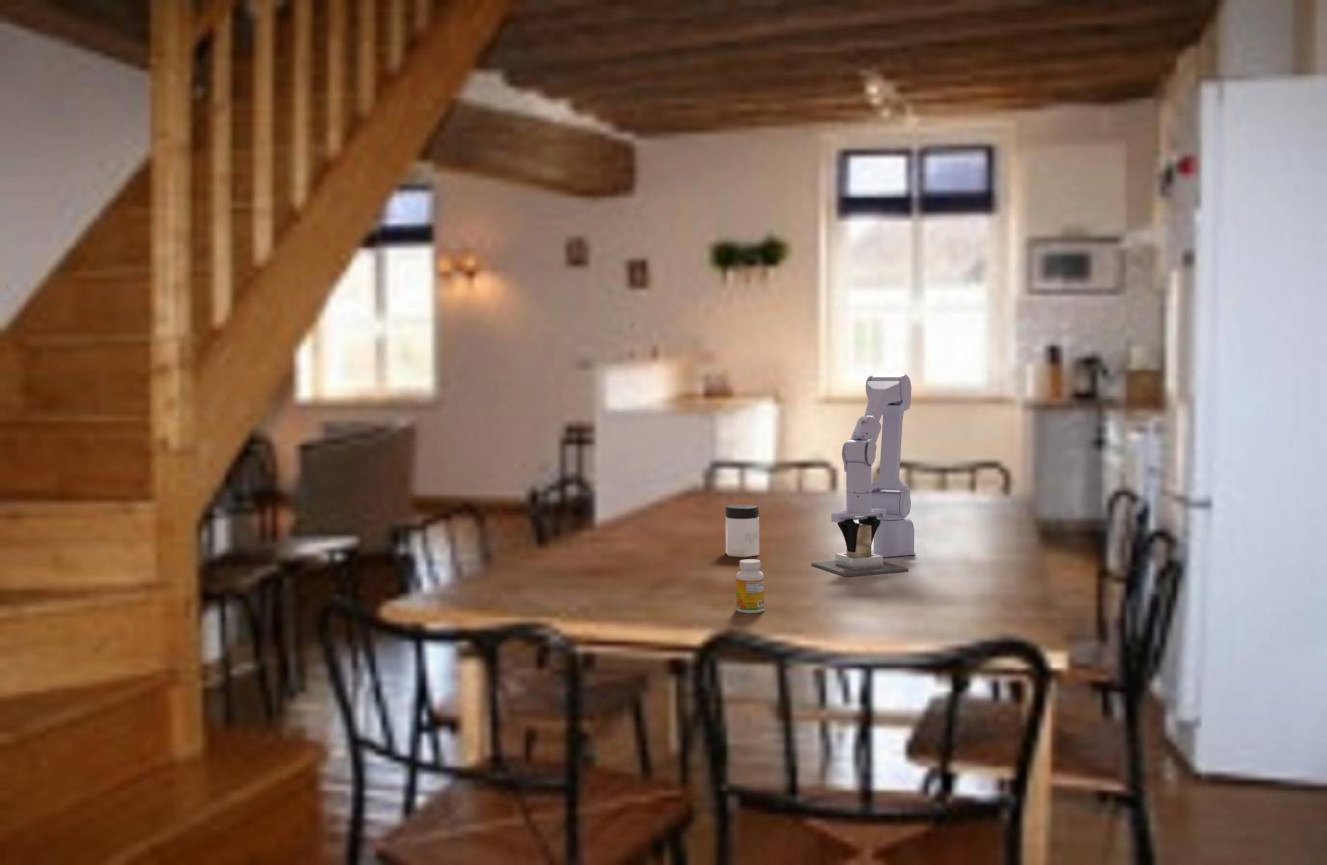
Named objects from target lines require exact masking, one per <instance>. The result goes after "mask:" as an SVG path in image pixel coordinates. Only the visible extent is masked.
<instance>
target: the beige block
mask: <svg viewBox="0 0 1327 865" xmlns="http://www.w3.org/2000/svg"><path fill="white" fill-rule="evenodd" d="M871 550H872V545H871V525H866V524H860V525H859V528H858V532H857V540H856V550H855V552H848V550H847V549H846V553H847V556H851V557H854V558H857V557H869V556H871Z"/></svg>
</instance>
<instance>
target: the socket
mask: <svg viewBox="0 0 1327 865" xmlns="http://www.w3.org/2000/svg"><path fill="white" fill-rule="evenodd" d="M835 561H836V564H837V565H840V566H843V567H846V568H849V569H852V570H856V569H867V568H878V567H883V561H884V557H883V556H881V555H877V554H874V553H871V556H869V557H857V558H854V557H851V556H847V552H839V553H837V552H836V553H835Z"/></svg>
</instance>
